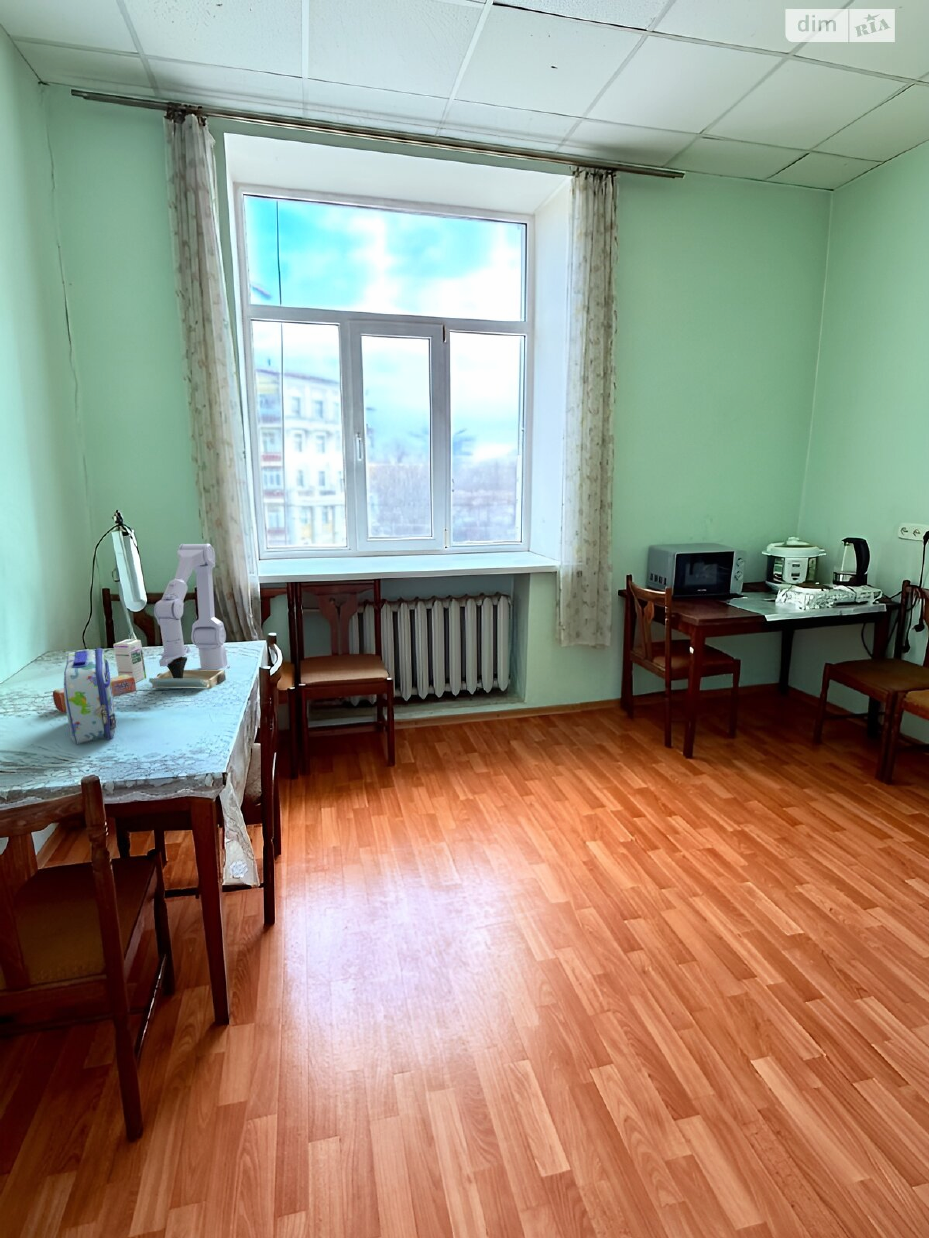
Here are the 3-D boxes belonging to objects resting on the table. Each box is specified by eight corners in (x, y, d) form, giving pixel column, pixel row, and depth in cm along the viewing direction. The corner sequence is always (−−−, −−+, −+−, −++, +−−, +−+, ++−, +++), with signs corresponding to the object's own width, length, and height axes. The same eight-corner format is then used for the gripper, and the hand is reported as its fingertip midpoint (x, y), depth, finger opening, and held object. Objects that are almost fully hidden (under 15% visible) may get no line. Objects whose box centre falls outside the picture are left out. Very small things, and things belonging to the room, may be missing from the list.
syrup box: (135, 687, 206) (129, 643, 202) (119, 686, 207) (112, 643, 203) (147, 682, 211) (141, 639, 208) (131, 681, 212) (125, 638, 209)
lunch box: (119, 742, 164) (107, 663, 159) (70, 752, 159) (56, 670, 154) (116, 710, 186) (105, 640, 181) (73, 718, 181) (61, 646, 176)
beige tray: (166, 681, 211) (165, 669, 210) (229, 681, 210) (227, 670, 209) (150, 691, 201) (148, 679, 201) (215, 692, 200) (214, 679, 199)
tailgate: (157, 683, 201) (149, 678, 197) (207, 684, 200) (200, 678, 196) (156, 687, 201) (148, 681, 196) (206, 687, 200) (199, 681, 195)
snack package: (129, 691, 203) (126, 670, 202) (138, 695, 199) (135, 674, 198) (54, 710, 188) (50, 688, 186) (62, 715, 184) (58, 692, 182)
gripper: (171, 632, 202) (177, 673, 205) (146, 645, 188) (153, 689, 191) (193, 632, 202) (199, 673, 205) (170, 645, 188) (176, 689, 191)
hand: (178, 681), depth 198 cm, fingers closed, pressing on tailgate
